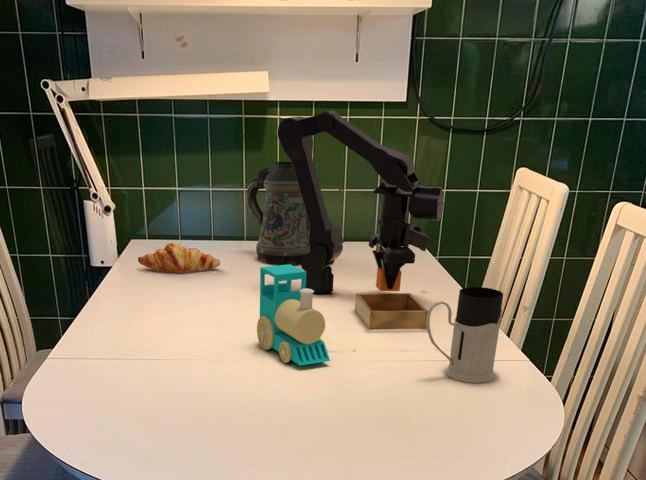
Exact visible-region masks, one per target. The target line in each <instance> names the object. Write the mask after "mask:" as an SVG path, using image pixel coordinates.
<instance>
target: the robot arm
mask: <svg viewBox="0 0 646 480" xmlns="http://www.w3.org/2000/svg"><path fill="white" fill-rule="evenodd" d="M323 133H327V134H329V135H330V136H331V137H333V138H334V139H336V140H337V141H339V142H340V143H341V144H342V145H344V146H346V147H347V148H348V149H350V150H351V151H352V152H353V153H356V154H357V155H359V156H360V157H361V158H362V159H364V160H365V161H367V162H368V163H369V164H370V165H371V167H372V169H374V171H375V172H376V174H377V175H378V176H379V177H381V179H382V180H383V181H382V182H380V184H379V186H378V187H376V188H375V189H374V190H373V194H376V195H382V201H381V213H380V218H378V221H377V224H378V225H379V233H372V234H371V235H370V236H369V238H368V247H369V248H370V249H372V250H371V252H372V254H373V257H374V261H375V263H376V266H377V268H383V272H384V276H385V280H386V284H387V288H388V289H393V286H394V284H395V281H396V278H397V276H398V273H399V271H401V269H402V267H404V266H405V265H406V264H412V265H413V264H415V263H416V253H415V252H414V251H413V250H412V249H411V248H410V247H409V246H412V247H414V248H417V249H419V250H420V251H423V252H426V250H427V248H428V246H429V244H430V241H431V239H432V238H431V237H430V236H429V235H427V234H426V233H424V232H422V227H421V226H420V225H417V224H414V223H413V224H412V225H411V224H410V222H409V221H407V220H408V213H409V215H410V216H411V215H412V218H413V219H419V220H427V221H437V222H439V221H440V220H441V219H442V216H443V212H444V206H445V201H444V194H443V189H444V188H443V186H423V185H422V183H421V181H420V179H419V177H418V176H417V174H416V172H415V164H414V160H413V158H412V157H410V156H409V155H407V154H406V153H403V152H400V151H399V150H396V149H393V148H390V147H387V146H385V145H382V144H381V143H379V142H377V141H376V140H375V139H373V138H372V137H371V136H369V135H368V134H366V133H365V132H364V131H362V130H360V129H359V128H358V127H357V126H355V125H354V124H353V123H350V122H349V121H348V120H346V119H345V118H343V117H342V116H341V115H340V114H339V112H337V111H335V110H328V111H324V112H322V113H320V114H317V115H313V116H309V117H304V116H293V117H287V118H284V119H282V121H280V123H279V124H278V127H277V128H276V135H277V138H278V141H279V143H280V146H281V147H282V150H283V152H284V153H285V154H286V156H287V157H288V159H289V161H290V162H292V163H293V166H294V170H295V174H296V177H297V181H298V184H299V188H300V192H301V195H302V199H303V203H304V206H305V210H306V214H307V217H308V221H309V225H310V231H309V247H310V252H309V253H308V254H307V255H306V256H305V257H303V258H302V259H301V260H300V263H301V265H300V267H301V270H304V271H306V288H307V289H312V290H314V293H313V296H332V295H333V292H334V280H335V279H334V278H335V275H334V273H333V267H331V266H333V265H334V263H335V260H336V259H338V258H339V257H340V256H341V254H342V253H343V249H344V246H343V244H344V243H345V240H344V238H343V236H342V231H341V226H340V224H338V225H336V226H334V224H333V223H332V221H330V218H329V215H328V212H327V211H328V210H327V207H326V203H325V200H324V196H323V192H322V188H321V185H320V181H319V177H318V174H317V170H316V166H315V164H314V158H313V152H314V151H313V149H314V136H315V135H316V136H317V135H320V134H323ZM373 249H374V250H373Z"/></svg>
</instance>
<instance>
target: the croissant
mask: <svg viewBox="0 0 646 480" xmlns="http://www.w3.org/2000/svg"><path fill="white" fill-rule="evenodd" d="M137 262H138V263H139V265H140V266H141V265H142V266H144V267H146V268H148V269H151V270H154V271H156V272H166V273H189V272H196V271H198V272H200V271H203V270H204V271H205V270H214V269H216V268H218V267H219V266H221V259H219V258H216V257H215V256H214V255H212V254H210V253H205V252H203V251H201V250H200V249H198V248H196V247H194V248H191V247H188V248H186V246H185V245H183V244H180V243H177V242H174V243H173V242H171V243H170V242H169V243H167V244H166V245H165V246H164V248H158V249H156V250H155V252H154V253H146V254H144V255H143V256H138V257H137Z"/></svg>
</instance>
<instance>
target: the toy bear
mask: <svg viewBox="0 0 646 480" xmlns="http://www.w3.org/2000/svg"><path fill="white" fill-rule="evenodd" d="M376 271H377V272H376V282H375V287H376V288H377V290H378V291H379V292H400V290H401V280H402V271H401V270H400V271H399V273H398V276H397V278H396V281H395V284H394V286H393V289H388V288H387V284H386V280H385V276H384V272H383V268H378V267H377V269H376Z"/></svg>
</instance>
